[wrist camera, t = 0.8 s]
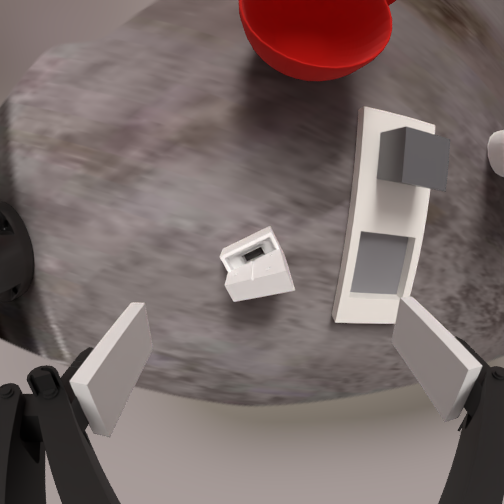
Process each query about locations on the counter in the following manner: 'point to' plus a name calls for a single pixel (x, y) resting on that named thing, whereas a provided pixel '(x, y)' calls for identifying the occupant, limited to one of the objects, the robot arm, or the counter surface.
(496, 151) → the foam cup
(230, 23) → the counter surface
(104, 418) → the robot arm
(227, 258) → the white angled block
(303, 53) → the ceramic cup
